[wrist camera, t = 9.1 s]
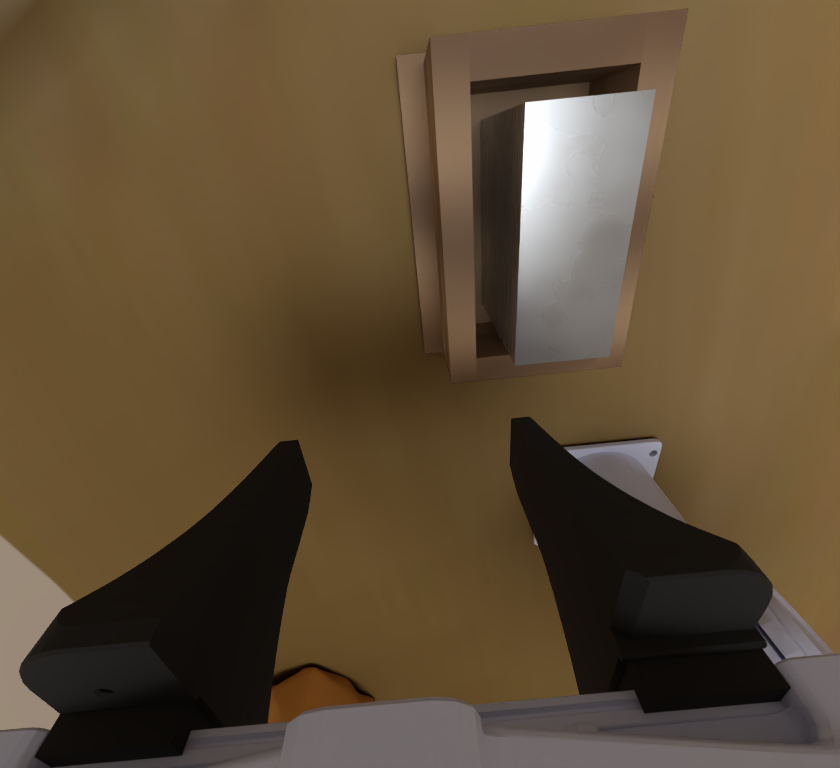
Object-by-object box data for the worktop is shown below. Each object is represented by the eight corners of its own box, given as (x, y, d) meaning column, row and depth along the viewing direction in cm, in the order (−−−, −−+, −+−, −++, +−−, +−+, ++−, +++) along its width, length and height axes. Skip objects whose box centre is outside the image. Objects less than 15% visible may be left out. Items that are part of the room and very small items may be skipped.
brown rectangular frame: (600, 332, 22) (642, 369, 18) (424, 350, 22) (429, 391, 19) (645, 30, 16) (725, -9, 12) (396, 58, 16) (394, 27, 12)
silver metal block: (548, 296, 21) (609, 356, 15) (481, 303, 21) (514, 365, 15) (563, 111, 17) (656, 89, 11) (480, 120, 17) (525, 102, 11)
